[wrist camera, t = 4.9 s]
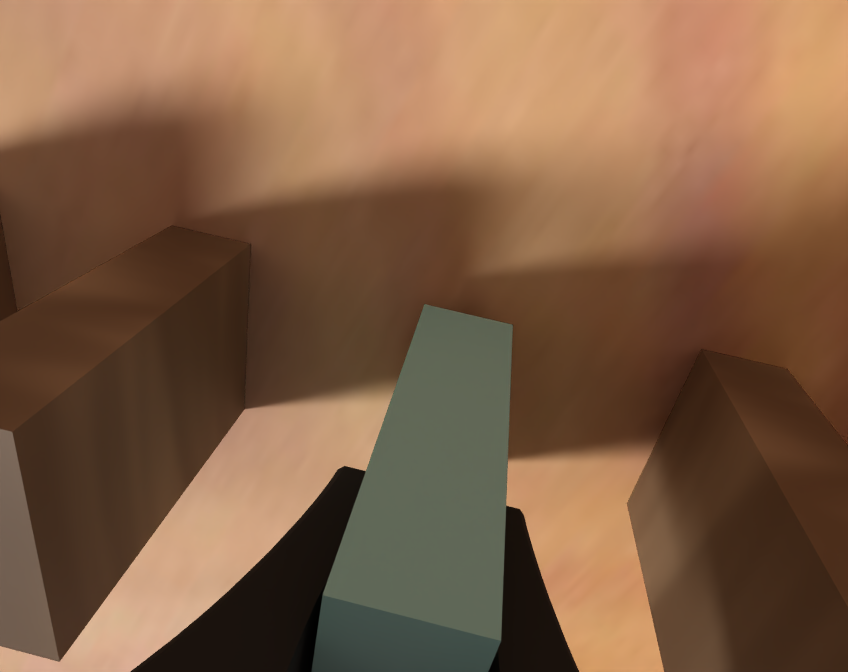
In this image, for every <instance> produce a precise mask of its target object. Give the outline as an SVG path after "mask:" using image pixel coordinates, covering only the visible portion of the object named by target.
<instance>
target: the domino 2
mask: <svg viewBox="0 0 848 672" xmlns="http://www.w3.org/2000/svg"><path fill="white" fill-rule="evenodd" d="M512 334H513V325H512V324H508V323H504V322H499V321H495V320H491V319H486V318H482V317H478V316H473V315H469V314H465V313H461V312H456V311H452V310H448V309H443V308H439V307H435V306H430V305H426V304H424V307H423V310H422V313H421V316H420V318H419V321H418V324H417V327H416V330H415V333H414V336H413V338H412V341H411V344H410V347H409V350H408V353H407V356H406V358H405V361H404V364H403V367H402V370H401V373H400V375H399V378H398V381H397V384H396V387H395V390H394V393H393V395H392V398H391V401H390V404H389V407H388V410H387V413H386V415H385V418H384V421H383V424H382V427H381V430H380V433H379V435H378V438H377V441H376V444H375V447H374V450H373V453H372V455H371V458H370V461H369V464H368V467H367V470H366V473H365V475H364V478H363V481H362V484H361V487H360V490H359V493H358V495H357V498H356V501H355V504H354V507H353V510H352V513H351V515H350V518H349V521H348V524H347V527H346V530H345V533H344V535H343V538H342V541H341V544H340V547H339V550H338V553H337V555H336V558H335V561H334V564H333V567H332V570H331V572H330V575H329V578H328V581H327V584H326V587H325V590H324V592H323V596H322V603H321V609H320V616H319V623H318V630H317V637H316V644H315V651H314V658H313V664H312V671H311V672H488V671H489V669H490V667H491V664H492V662H493V659H494V657H495V654H496V652H497V650H498V647H499V645H500V642H501V629H502V602H503V575H504V549H505V522H506V495H507V468H508V441H509V414H510V388H511V361H512Z"/></svg>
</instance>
